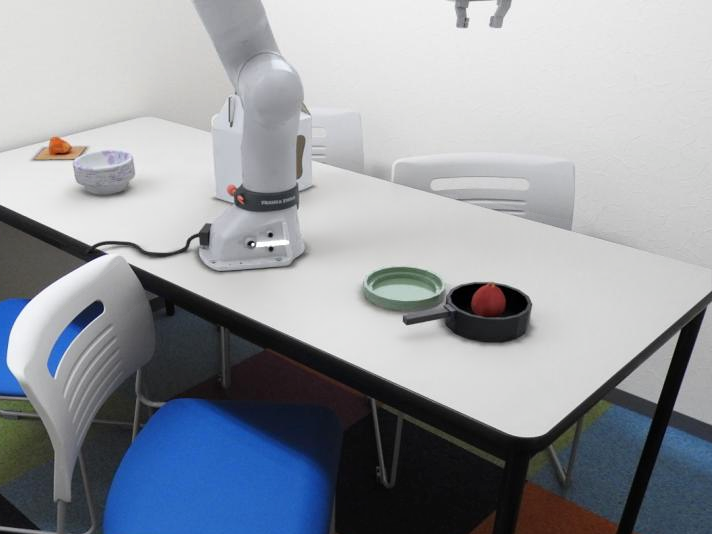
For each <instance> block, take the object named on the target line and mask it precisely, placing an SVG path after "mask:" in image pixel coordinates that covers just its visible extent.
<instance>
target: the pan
mask: <svg viewBox="0 0 712 534" xmlns="http://www.w3.org/2000/svg"><path fill="white" fill-rule="evenodd" d="M489 282H490V281H471V282H467V283H461V284H459V285H457V286H454V287H452V288H451V289H450V290H449V291H448V293H447V294H446V295H445V302H444V304H443V306H442V307H440V308H435V309H428V310H425V311H417V312H414V313H408V314H403V315H402V323H403V324H404V325H406V326H412V325H417V324H423V323H428V322H432V321H433V322H434V321H438V320H442V319H443V321H444V325H445V327H446V328H447V329H448V330H449V331H451V333H453V334H454V335H457V336H459V337H461V338H463V339H465V340H469V341H474V342H478V343H484V344H485V343H487V344H490V343H491V344H497V343H498V344H501V343H502V344H503V343H506V342H511V341H516V340H518V339H519V338H521V337H522V336H525V335H526V333H527V331H528V329H529V327H530V326H529V325H530V322H531V321H530V320H531V315H532V314H531V313H532V309H533V302H532V300H531V297H530V296H529V295H528V294H526V293H525V292H523V290H521V289H519V288H516V287H513V286H511V285H508V284H505V283H499V282H495V283H494V284H495V286H497V287H498V288H500V290H501V291H502V292H503V294H504V296H505V300H506V304H505V309H504V311H503V313H502V314H501V315H500V316H499V317H497V318H488V317H482V316H477V315H475V314H474V312H473V310H472V306H471V303H472V298H473V295H474V294H475V292H476V291H477V290H478V289H480V288H481V287H482V286H485V285H487V284H489Z"/></svg>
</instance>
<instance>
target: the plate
mask: <svg viewBox="0 0 712 534" xmlns="http://www.w3.org/2000/svg"><path fill="white" fill-rule="evenodd" d="M446 286H447V284H446V282H445V279H444V278H443V277H441V275H440V274H438V273H437V272H434V271H432V270H429V269H427V268H423V267H418V266H412V265H410V266H409V265H390V266H385V267H380V268H377V269H375V270H372V271H370V272H369V273H368V274H366V275H365V277H364V279H363V282H362V291H363V295H364V297H365V298H366V299H367V300H368V301H369V302H371V303H373V304H375V305H377V306H378V307H383V308H385V309H390V310H395V311H419V310H424V309H425V310H426V309H429V308H431V307H433V306H436V305H438V304H440V302H442V301H443V300H444V297H445V294H446Z"/></svg>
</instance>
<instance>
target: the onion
mask: <svg viewBox="0 0 712 534" xmlns="http://www.w3.org/2000/svg"><path fill="white" fill-rule="evenodd" d="M488 282H489V284H487V285H485V286H482V287H481V288H480V289H478V290H477V291H476V292H475V294H474V295H473V298H472V303H471V306H472V310H473V312H474V314H475V315H477V316H482V317H488V318H497V317H499V316H500V315H501V314H502V313H503V311H504V309H505V304H506V300H505V296H504V294H503V292H502V291H501V290H500V288H498V287H497V286H495V284H494V283H496V282H495V281H491V280H490V281H488Z"/></svg>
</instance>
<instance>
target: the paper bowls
mask: <svg viewBox="0 0 712 534" xmlns="http://www.w3.org/2000/svg"><path fill="white" fill-rule="evenodd" d="M72 169H73V173H74V179H75V182H76V183H77V184H78V185H80V186H83V187H84V188H85V189H86V190H87V192H88V193H91V194H94V195H101V196H103V195H106V196H107V195H113V194H118V193H121V192H122V191H124V190H126V189H127V188H128V185H129V182H130V181H132V180H133V179H134V178H135V176H136V168H135V162H134V157H133V155H132V154H131V153H129V152H127V151H124V150H123V151H122V150H115V149H114V150H113V149H112V150H111V149H110V150H97V151H92V152H88V153H85V154H82V155H81V154H80V155H79V156H78V157H77V158H76V159H73V161H72Z"/></svg>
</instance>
